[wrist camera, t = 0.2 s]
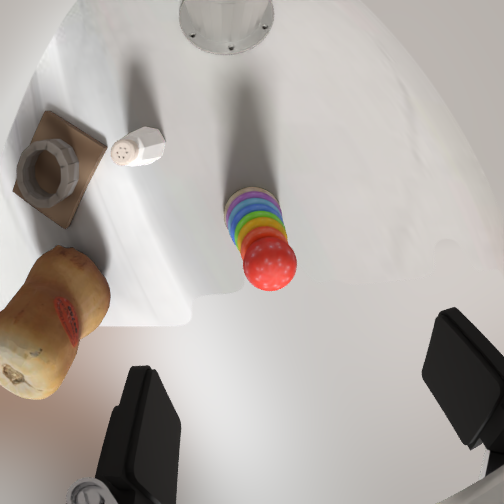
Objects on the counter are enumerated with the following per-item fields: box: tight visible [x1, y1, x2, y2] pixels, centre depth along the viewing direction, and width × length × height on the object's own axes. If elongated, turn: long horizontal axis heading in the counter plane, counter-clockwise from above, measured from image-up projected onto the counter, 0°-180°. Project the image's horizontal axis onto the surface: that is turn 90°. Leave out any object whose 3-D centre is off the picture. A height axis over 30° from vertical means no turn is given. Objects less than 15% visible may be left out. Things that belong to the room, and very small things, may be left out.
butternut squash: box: [0, 245, 110, 400], centre depth 34 cm, size 14×13×25 cm
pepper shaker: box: [111, 126, 166, 166], centre depth 34 cm, size 5×5×11 cm
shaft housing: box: [13, 111, 108, 229], centre depth 36 cm, size 14×12×5 cm
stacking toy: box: [224, 187, 297, 291], centre depth 36 cm, size 8×8×19 cm
